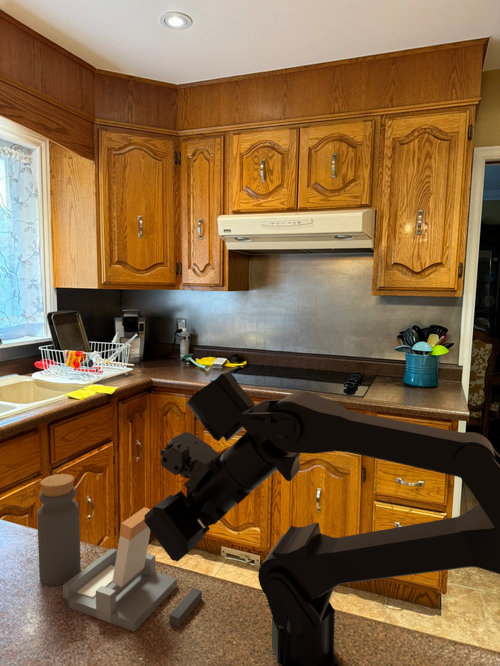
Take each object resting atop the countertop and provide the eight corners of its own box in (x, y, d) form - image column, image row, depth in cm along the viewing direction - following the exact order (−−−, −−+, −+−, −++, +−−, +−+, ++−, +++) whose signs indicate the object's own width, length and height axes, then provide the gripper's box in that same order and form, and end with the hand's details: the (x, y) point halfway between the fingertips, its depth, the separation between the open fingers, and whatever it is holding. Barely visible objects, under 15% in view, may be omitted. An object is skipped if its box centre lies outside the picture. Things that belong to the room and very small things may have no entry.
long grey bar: (193, 596, 66) (193, 588, 65) (201, 598, 65) (201, 590, 65) (169, 623, 60) (169, 615, 60) (178, 626, 59) (178, 618, 59)
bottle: (66, 588, 67) (63, 489, 66) (30, 583, 68) (27, 485, 67) (88, 565, 73) (85, 473, 71) (55, 561, 74) (52, 470, 73)
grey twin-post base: (177, 586, 68) (176, 561, 67) (134, 631, 59) (133, 603, 58) (112, 566, 72) (111, 543, 72) (63, 605, 63) (62, 579, 63)
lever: (146, 573, 68) (157, 509, 66) (115, 601, 62) (127, 531, 60) (137, 568, 68) (148, 504, 67) (105, 596, 62) (117, 526, 60)
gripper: (233, 401, 67) (169, 463, 72) (157, 438, 50) (81, 516, 55) (283, 462, 64) (213, 522, 69) (222, 523, 47) (136, 596, 52)
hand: (166, 535), depth 62 cm, fingers closed
